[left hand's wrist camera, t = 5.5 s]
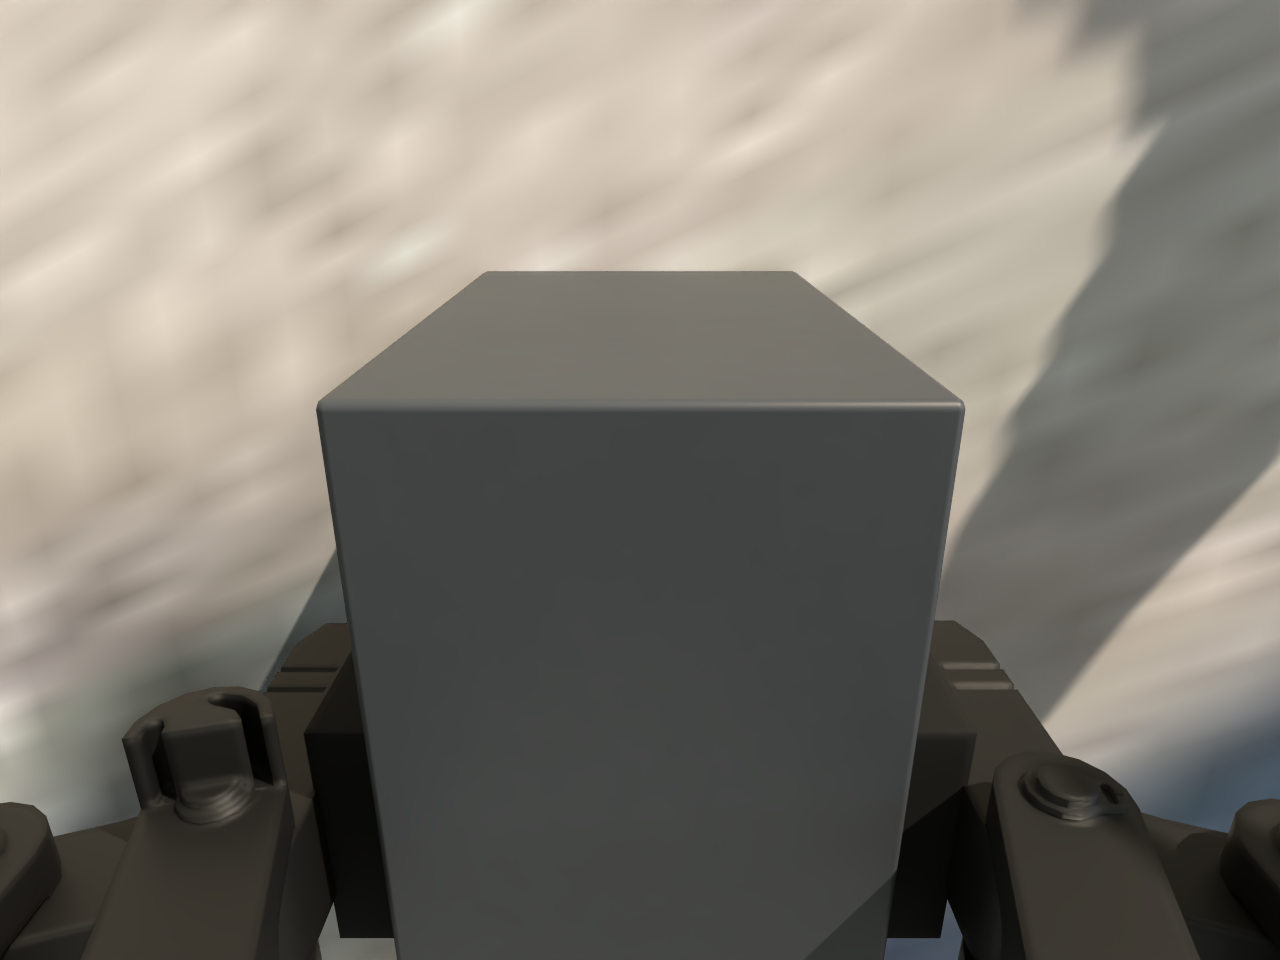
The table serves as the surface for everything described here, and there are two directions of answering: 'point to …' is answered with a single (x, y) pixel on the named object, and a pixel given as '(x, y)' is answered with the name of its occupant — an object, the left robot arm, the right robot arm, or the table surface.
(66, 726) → the table surface
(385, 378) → the beam
